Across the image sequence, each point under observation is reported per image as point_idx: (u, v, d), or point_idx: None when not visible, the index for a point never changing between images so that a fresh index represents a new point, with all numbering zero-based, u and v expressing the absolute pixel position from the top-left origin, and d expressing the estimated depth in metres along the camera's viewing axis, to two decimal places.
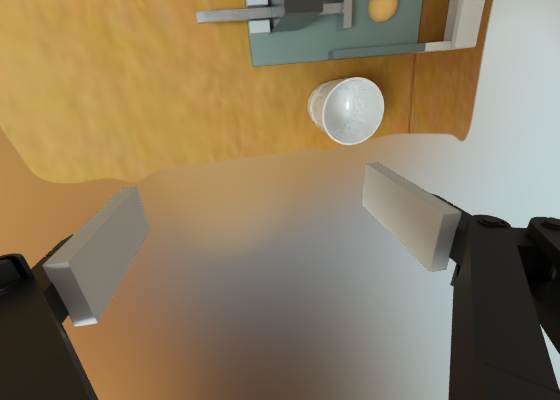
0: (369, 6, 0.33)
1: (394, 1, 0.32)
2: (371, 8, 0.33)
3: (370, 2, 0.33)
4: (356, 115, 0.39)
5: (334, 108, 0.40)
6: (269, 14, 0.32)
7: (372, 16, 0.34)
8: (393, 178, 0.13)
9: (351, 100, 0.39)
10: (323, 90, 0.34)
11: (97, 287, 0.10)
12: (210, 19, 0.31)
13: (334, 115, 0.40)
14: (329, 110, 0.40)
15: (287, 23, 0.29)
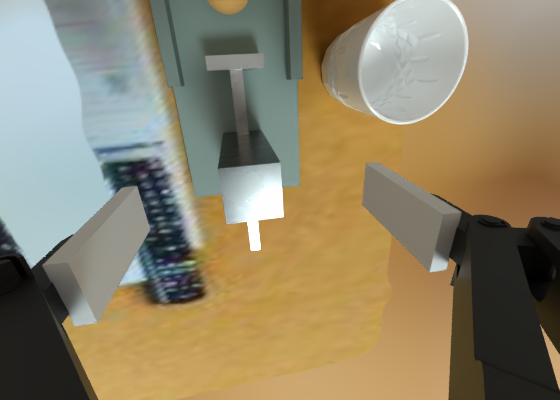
0: (229, 13, 0.20)
1: None
2: (232, 12, 0.20)
3: (224, 13, 0.20)
4: (389, 27, 0.22)
5: (364, 63, 0.25)
6: None
7: (243, 7, 0.20)
8: (393, 178, 0.13)
9: None
10: (353, 105, 0.22)
11: (97, 287, 0.10)
12: (257, 238, 0.28)
13: (374, 62, 0.25)
14: (365, 72, 0.25)
15: None
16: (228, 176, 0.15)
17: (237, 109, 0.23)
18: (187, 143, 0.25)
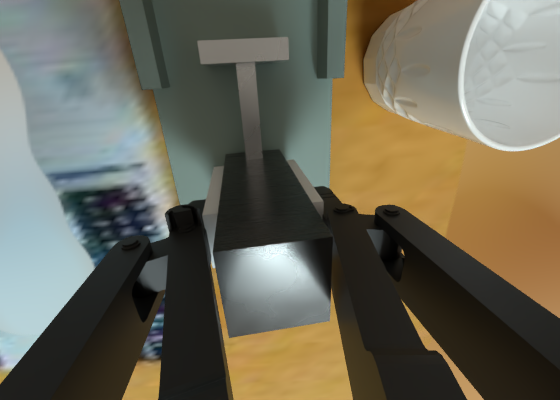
0: None
1: None
2: None
3: None
4: None
5: None
6: None
7: None
8: None
9: None
10: (423, 117, 0.14)
11: None
12: None
13: None
14: None
15: None
16: (232, 263, 0.08)
17: (246, 122, 0.15)
18: (175, 168, 0.18)
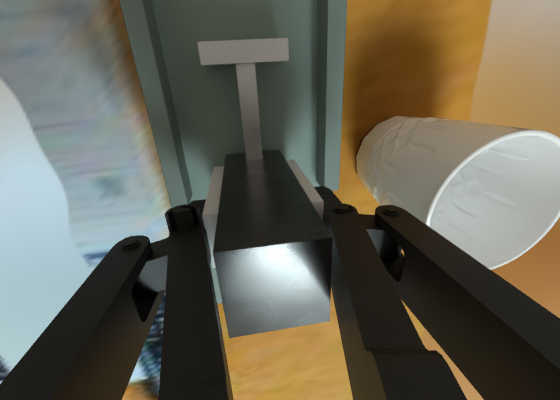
0: None
1: None
2: None
3: None
4: None
5: None
6: None
7: None
8: None
9: None
10: None
11: None
12: None
13: None
14: None
15: None
16: (232, 264, 0.08)
17: (246, 123, 0.15)
18: None
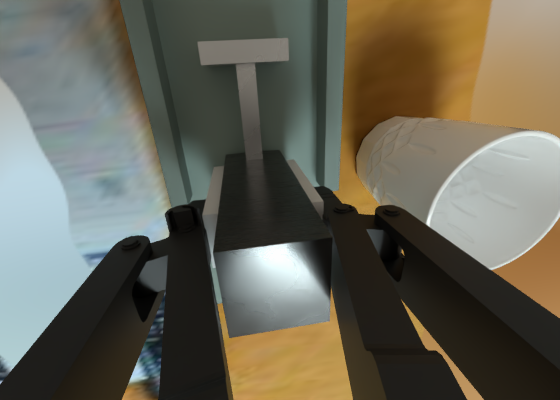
0: None
1: None
2: None
3: None
4: None
5: None
6: None
7: None
8: None
9: None
10: None
11: None
12: None
13: None
14: None
15: None
16: (233, 264, 0.08)
17: (246, 123, 0.15)
18: None
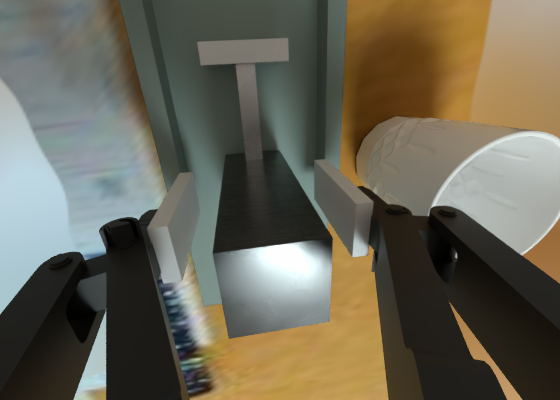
0: None
1: None
2: None
3: None
4: None
5: None
6: None
7: None
8: (331, 173, 0.14)
9: None
10: None
11: (180, 251, 0.11)
12: None
13: None
14: None
15: None
16: (232, 265, 0.08)
17: (246, 123, 0.15)
18: (195, 253, 0.21)
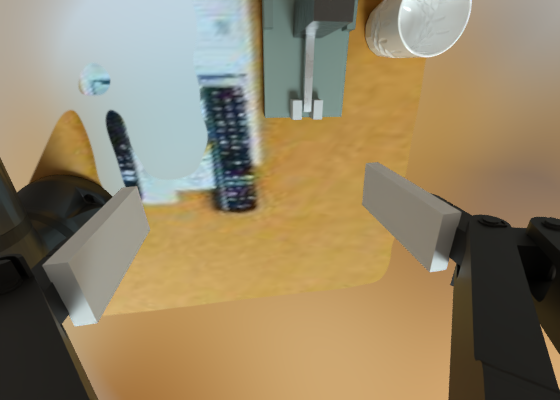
0: None
1: None
2: None
3: None
4: None
5: None
6: (312, 37, 0.32)
7: None
8: (393, 178, 0.13)
9: None
10: (389, 47, 0.31)
11: (97, 287, 0.10)
12: (310, 99, 0.35)
13: (405, 23, 0.35)
14: None
15: None
16: None
17: None
18: (266, 74, 0.35)
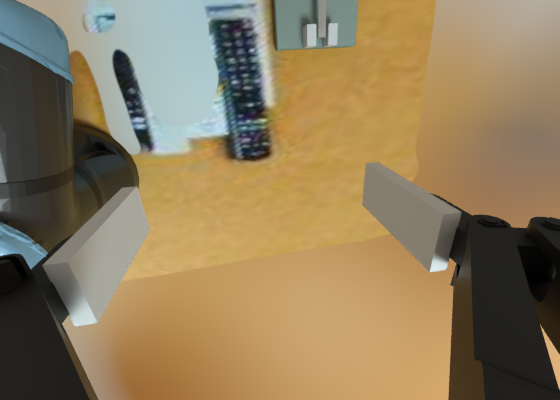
0: None
1: None
2: None
3: None
4: None
5: None
6: None
7: None
8: (393, 178, 0.13)
9: None
10: None
11: (97, 287, 0.10)
12: (324, 23, 0.34)
13: None
14: None
15: None
16: None
17: None
18: None
